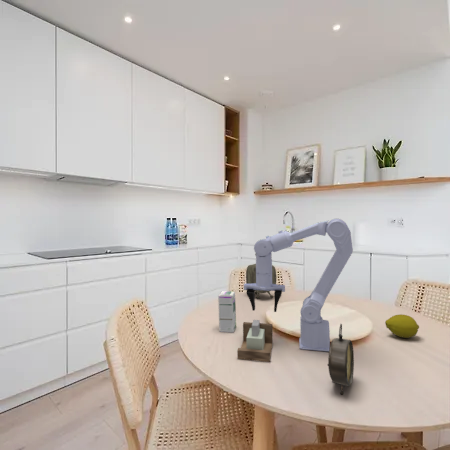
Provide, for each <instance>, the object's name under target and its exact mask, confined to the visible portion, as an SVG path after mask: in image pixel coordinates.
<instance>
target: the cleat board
mask: <svg viewBox="0 0 450 450" xmlns="http://www.w3.org/2000/svg"><path fill="white" fill-rule="evenodd" d="M252 323H253V322H249V321H243V323H242V333H243V334H242V337H243V340H242V344H241V345H240V347H238V348H237V360H242V361H243V360H245V361H254V362H263V363H264V362H266V363H271V357H272V350H273V344H274V343H273V340H274V339H273V337H274V336H273V323H263V322H262V323H261V322H260V329H265V345H264V349H263V350H255V349H247V340H246V338H247V335H248V332H249V329H250V328H252Z"/></svg>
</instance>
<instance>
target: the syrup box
mask: <svg viewBox="0 0 450 450" xmlns="http://www.w3.org/2000/svg"><path fill="white" fill-rule="evenodd" d="M217 297H218V300H217V301H218V325H219V327H218V330H219V332H222V333H235V330H236V328H237V312H236V311H237V307H236V292H235V291H234V290H222V291H221V292H220V293H219V294H218V295H217Z"/></svg>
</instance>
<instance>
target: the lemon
mask: <svg viewBox="0 0 450 450" xmlns="http://www.w3.org/2000/svg"><path fill="white" fill-rule="evenodd" d="M384 324H385V327H386V329H388V330H389V332H391V333H392V334H393V335H395V336H397V337H399V338H404V339H407V338H409V339H410V338H412V337H415V336H416V335H417V333H418V331H419V329H420V325H419V324H418V323H417V321H416V320H415V318H414V317H412V316H410V315H407V314H395V315H392V316H391V317H389V318H388V319H386V320H385V322H384Z"/></svg>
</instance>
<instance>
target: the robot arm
mask: <svg viewBox="0 0 450 450" xmlns="http://www.w3.org/2000/svg"><path fill="white" fill-rule="evenodd" d="M315 235H316V236H317V235H319V236H324V237H325V236H326V235H328V237H329V238H330V239H331V240H332V241H333V245H334V246H335V252H334V253H333V255H332V257H331V259H330V261H329V262H328V263H327V266H326V268H325V270H324V271H323V273H322V274H321V276H320V277H319V280H318V281H317V283H316V285H315V287H314V289H312V291H311V293H310V295H309V296H307V297H305V298H304V299H303V301H302V307H300V308H301V309H300V319H299V320H300V322H299V323H300V337H299V338H298V343H299V349H300V350H307V351H308V350H309V351H317V352H329V348H330V344H331V338H330V337H331V336H330V334H331V333H330V331H331V330H330V323H329V320H327V319H324V318H323V317H322V316H321V315H322V314H321V312H322V311H321V310H322V309H323V306H324V305H325V303H326V299H327V297H328V295H329V294H330V292H331V290H332V289H333V288H334V286H335V284H336V283H337V280H338V278H339V276H340V274H341V273H342V272H343V270H344V268H345V266H346V264H347V263H348V261H349V260H350V258H351V256H352V254H353V251H354V248H353V242H352V233H351V229H350V228H349V226H348V224H347V223H346V222H345V221H344V220H343V219H341V218H333V219H331V220H324V221H320V222H316V223H313V224H311V225H308V226H305V227H303V228H300V229H297V230H294V231H293V232H289V231H287V230H284V231H283V230H278V233H275V234H272V235H270V236H269V235H267V236H265V238H262V239H259V240H258V241H256V242H255V243H254V246H253V250H254V253H255V254H256V256H255V257H256V258H255V264H256V283H252V284H246V283H244V284H243V291H246V295H247V297H248V299H249V301H250V304H251V305H250V306H251V309H252V311H255V310H256V302H255V301H256V299H255V298H256V294H255V290H265V291H269V292H273V295H274V296H273V299H274V306H273V307H274V308H273V312H274V313H277V309H278V308H277V307H278V303H279V301H280V299H281V297H282V293H285V292H286V285H285V284H277V283H276V284H272V265H273V260H272V253H273V252H274V253H276V252H279V251H282V250H285V249H288V248H291V247H292V246H293V244H294V242H296V241H300V240H303V239H307V238H309V237H312V236H315Z"/></svg>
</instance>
